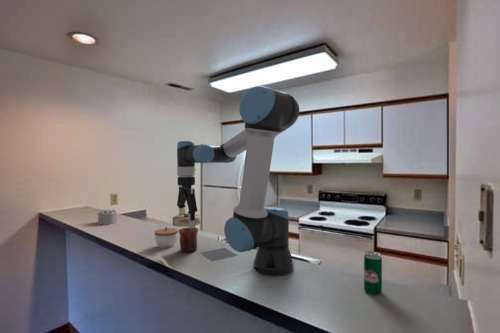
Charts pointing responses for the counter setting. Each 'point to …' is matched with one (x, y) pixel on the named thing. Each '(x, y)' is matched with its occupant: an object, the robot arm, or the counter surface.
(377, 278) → the soda can
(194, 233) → the mug
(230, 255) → the mat
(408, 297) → the counter surface
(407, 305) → the counter surface
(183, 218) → the lid
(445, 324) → the counter surface
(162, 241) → the lidded jar
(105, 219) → the lumpy-topped squat cylinder
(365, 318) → the counter surface
